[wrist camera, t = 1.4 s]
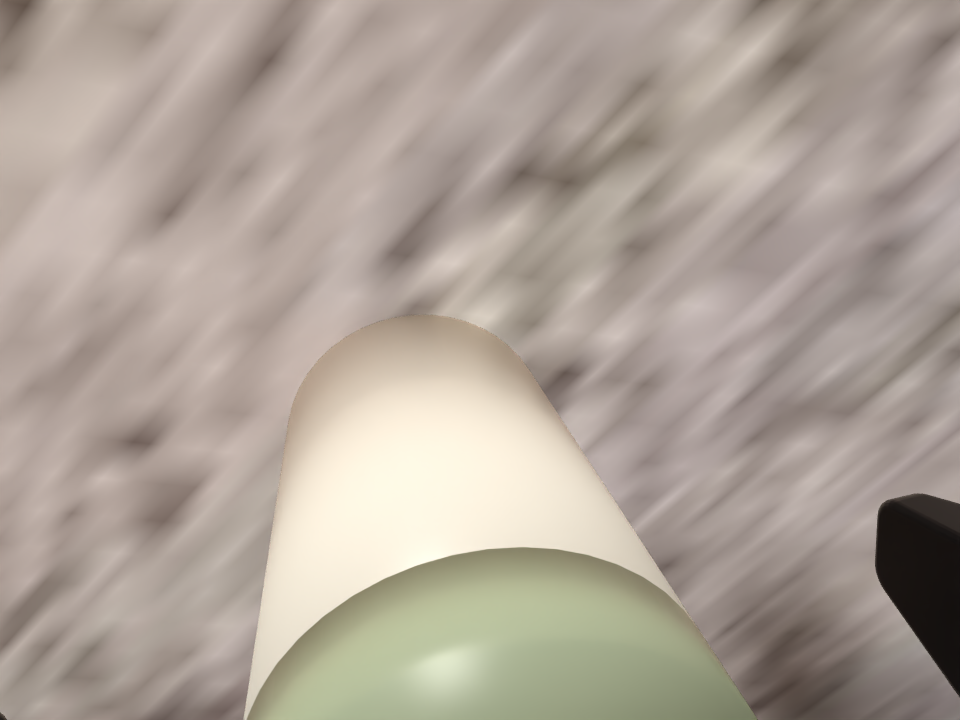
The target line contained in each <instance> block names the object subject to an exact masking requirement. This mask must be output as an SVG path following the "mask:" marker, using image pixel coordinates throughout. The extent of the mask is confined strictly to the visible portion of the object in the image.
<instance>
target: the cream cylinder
mask: <svg viewBox="0 0 960 720" xmlns="http://www.w3.org/2000/svg"><path fill="white" fill-rule="evenodd" d="M244 720H758V719H757V718H756V716H755V715H754V713H753V712H752V710H751V709H750V707H749V706H748V704H747V703H746V701H745V699H744V698H743V696H742V695H741V693H740V692H739V690H738V689H737V687H736V686H735V684H734V683H733V681H732V680H731V678H730V677H729V675H728V673H727V672H726V670H725V669H724V667H723V666H722V664H721V663H720V661H719V660H718V658H717V657H716V655H715V654H714V652H713V651H712V649H711V647H710V646H709V644H708V643H707V641H706V640H705V638H704V637H703V635H702V634H701V632H700V631H699V629H698V628H697V626H696V625H695V623H694V621H693V620H692V618H691V617H690V615H689V614H688V612H687V611H686V609H685V608H684V606H683V605H682V603H681V602H680V600H679V599H678V597H677V595H676V594H675V592H674V591H673V589H672V588H671V586H670V585H669V583H668V582H667V580H666V579H665V577H664V576H663V574H662V573H661V571H660V569H659V568H658V566H657V565H656V563H655V562H654V560H653V559H652V557H651V556H650V554H649V553H648V551H647V550H646V548H645V546H644V545H643V543H642V542H641V540H640V539H639V537H638V536H637V534H636V533H635V531H634V530H633V528H632V527H631V525H630V524H629V522H628V520H627V519H626V517H625V516H624V514H623V513H622V511H621V510H620V508H619V507H618V505H617V504H616V502H615V501H614V499H613V498H612V496H611V494H610V493H609V491H608V490H607V488H606V487H605V485H604V484H603V482H602V481H601V479H600V478H599V476H598V475H597V473H596V472H595V470H594V468H593V467H592V465H591V464H590V462H589V461H588V459H587V458H586V456H585V455H584V453H583V452H582V450H581V449H580V447H579V446H578V444H577V442H576V441H575V439H574V438H573V436H572V435H571V433H570V432H569V430H568V429H567V427H566V426H565V424H564V423H563V421H562V420H561V418H560V416H559V415H558V413H557V412H556V410H555V409H554V407H553V406H552V404H551V403H550V401H549V400H548V398H547V397H546V395H545V394H544V392H543V390H542V389H541V387H540V386H539V384H538V383H537V381H536V380H535V378H534V377H533V375H532V374H531V372H530V371H529V369H528V368H527V366H526V365H525V364H524V362H523V361H522V360H521V358H520V357H519V356H518V355H517V354H516V353H515V352H514V351H513V350H512V349H511V348H510V347H509V346H508V345H507V344H506V343H504V342H503V341H502V340H500V339H499V338H498V337H497V336H495V335H493V334H492V333H490V332H488V331H486V330H485V329H483V328H481V327H478V326H476V325H473V324H471V323H469V322H466V321H462V320H458V319H455V318H451V317H445V316H437V315H409V316H401V317H395V318H391V319H387V320H383V321H379V322H376V323H374V324H371V325H369V326H366V327H364V328H361V329H360V330H358V331H356V332H354V333H352V334H350V335H349V336H347V337H345V338H344V339H342V340H341V341H340V342H338V343H337V344H336V345H334V346H333V347H332V348H330V349H329V350H328V351H327V352H326V353H325V354H324V355H323V356H322V357H321V358H320V359H319V360H318V361H317V363H316V364H315V365H314V366H313V367H312V369H311V370H310V371H309V372H308V374H307V376H306V377H305V379H304V381H303V382H302V384H301V386H300V387H299V390H298V392H297V394H296V397H295V399H294V401H293V404H292V408H291V412H290V416H289V421H288V427H287V434H286V440H285V447H284V454H283V460H282V467H281V474H280V480H279V487H278V494H277V500H276V507H275V514H274V520H273V527H272V534H271V540H270V547H269V554H268V560H267V567H266V574H265V580H264V587H263V594H262V600H261V607H260V614H259V620H258V627H257V634H256V640H255V647H254V654H253V660H252V667H251V674H250V680H249V687H248V694H247V700H246V707H245V714H244Z"/></svg>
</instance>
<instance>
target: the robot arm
mask: <svg viewBox="0 0 960 720" xmlns="http://www.w3.org/2000/svg"><path fill="white" fill-rule="evenodd" d="M875 567H876V573H877V576H878V579H879V581H880V583H881V585H882V587H883V589H884V590H885V592H886V593H887V595H888V596H889V598H890V599H891V600H892V602H893V603H894V605H895V606H896V608H897V609H898V610H899V612H900V613H901V615H902V616H903V618H904V619H905V620H906V622H907V623H908V625H909V626H910V627H911V629H912V630H913V632H914V633H915V635H916V636H917V637H918V639H919V640H920V642H921V643H922V645H923V646H924V647H925V649H926V650H927V652H928V653H929V654H930V656H931V657H932V659H933V660H934V662H935V663H936V664H937V666H938V667H939V669H940V670H941V672H942V673H943V674H944V676H945V677H946V679H947V680H948V681H949V683H950V684H951V686H952V687H953V689H954V690H955V691H956V693H957V694H958V695H959V697H960V504H958V503H955V502H951V501H948V500H944V499H941V498H937V497H934V496H930V495H926V494H911V495H907V496H902V497H898V498H894V499H890V500H887V501H885V502H884V503H882V505H881V506H880V508H879V510H878V518H877V536H876V555H875ZM0 720H7V719H6V718H5V716H4V715H3V714H1V713H0Z"/></svg>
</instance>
